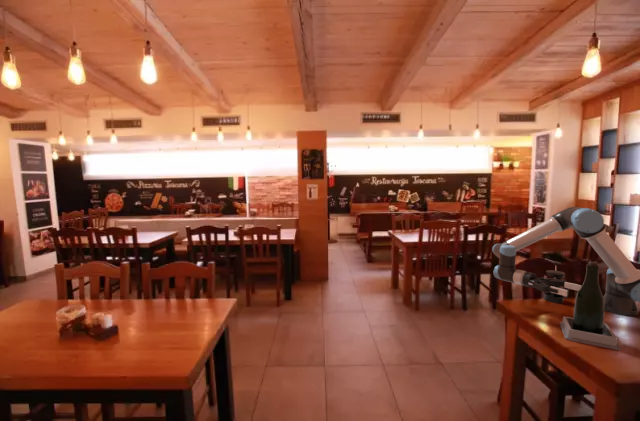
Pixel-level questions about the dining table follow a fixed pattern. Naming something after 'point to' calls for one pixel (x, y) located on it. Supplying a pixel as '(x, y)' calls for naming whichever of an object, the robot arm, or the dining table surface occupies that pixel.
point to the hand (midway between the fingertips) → (574, 290)
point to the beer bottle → (589, 303)
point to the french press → (552, 296)
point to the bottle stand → (589, 335)
